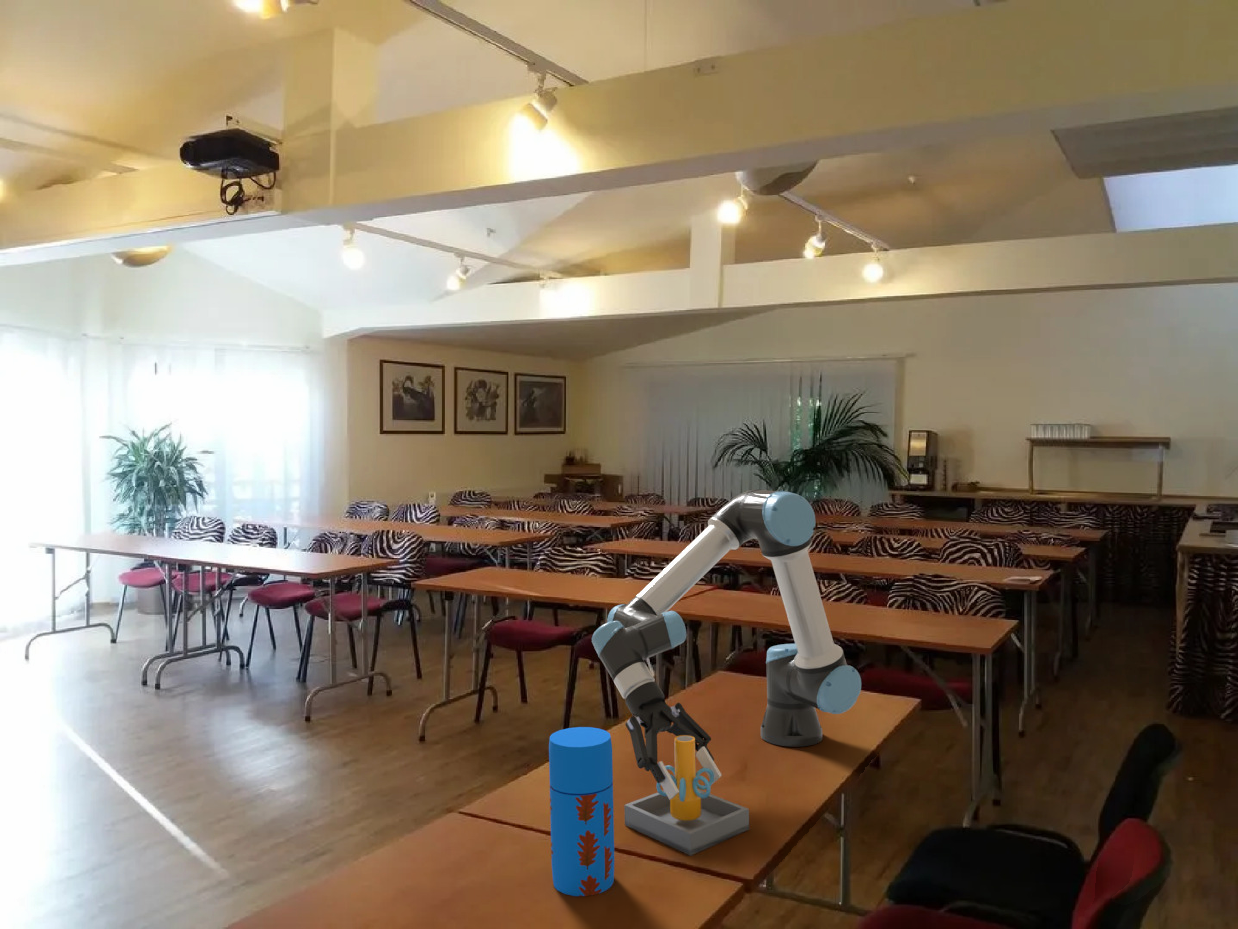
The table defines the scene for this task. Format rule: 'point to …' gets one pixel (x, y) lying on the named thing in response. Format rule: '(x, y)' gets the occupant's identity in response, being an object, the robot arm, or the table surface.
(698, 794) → the cylinder
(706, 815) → the tray
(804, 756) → the table surface
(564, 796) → the thermos
